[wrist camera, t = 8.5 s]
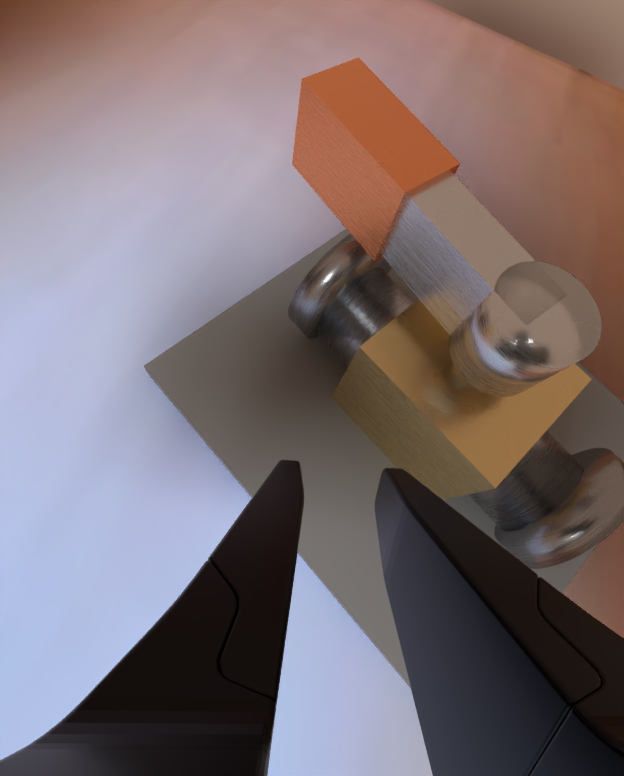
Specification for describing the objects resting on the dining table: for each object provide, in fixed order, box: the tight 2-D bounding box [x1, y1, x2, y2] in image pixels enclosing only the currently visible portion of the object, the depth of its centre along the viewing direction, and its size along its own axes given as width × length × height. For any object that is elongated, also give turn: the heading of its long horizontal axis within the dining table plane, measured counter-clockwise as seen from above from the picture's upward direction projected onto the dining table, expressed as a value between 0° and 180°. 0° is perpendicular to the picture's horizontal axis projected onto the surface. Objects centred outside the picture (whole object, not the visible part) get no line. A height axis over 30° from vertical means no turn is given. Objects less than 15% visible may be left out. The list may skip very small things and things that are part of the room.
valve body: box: [288, 234, 624, 569], centre depth 15 cm, size 12×5×6 cm, turn 42°
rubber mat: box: [144, 229, 624, 688], centre depth 18 cm, size 17×15×1 cm
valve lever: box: [292, 58, 602, 397], centre depth 12 cm, size 10×3×3 cm, turn 36°
